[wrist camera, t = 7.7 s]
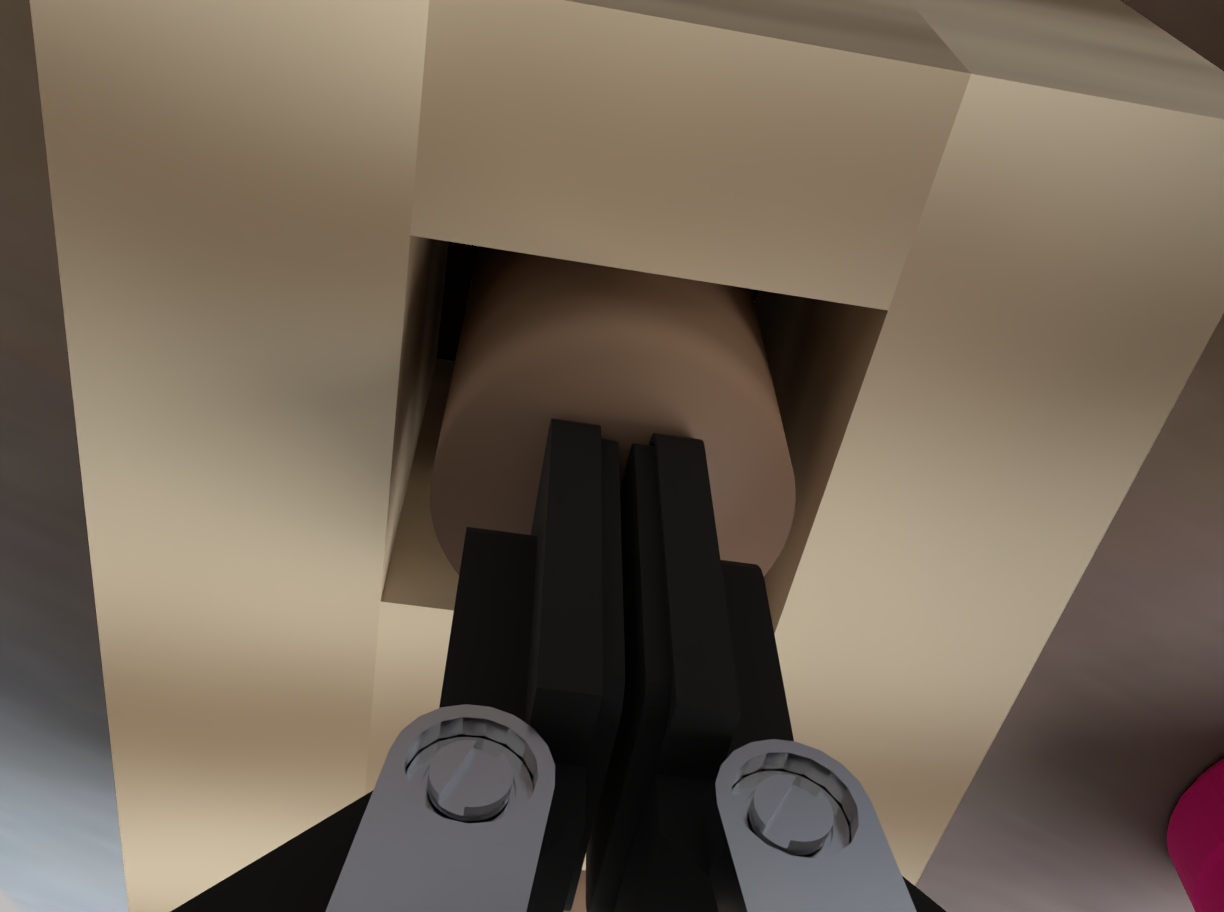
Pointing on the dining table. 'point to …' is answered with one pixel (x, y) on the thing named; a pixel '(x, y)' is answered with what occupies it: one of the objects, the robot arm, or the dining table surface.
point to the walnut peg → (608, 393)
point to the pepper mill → (1200, 840)
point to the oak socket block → (622, 238)
